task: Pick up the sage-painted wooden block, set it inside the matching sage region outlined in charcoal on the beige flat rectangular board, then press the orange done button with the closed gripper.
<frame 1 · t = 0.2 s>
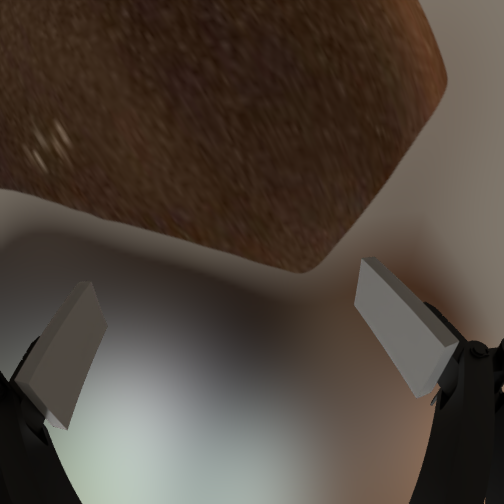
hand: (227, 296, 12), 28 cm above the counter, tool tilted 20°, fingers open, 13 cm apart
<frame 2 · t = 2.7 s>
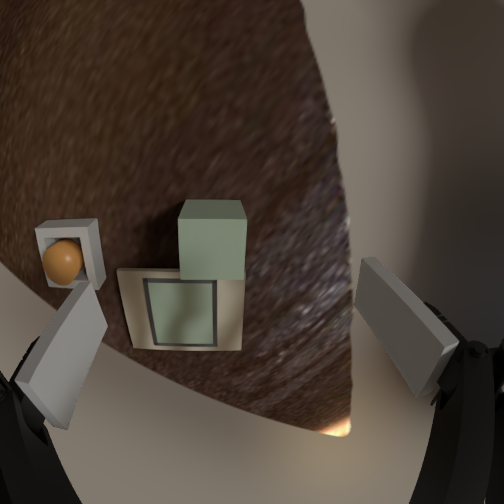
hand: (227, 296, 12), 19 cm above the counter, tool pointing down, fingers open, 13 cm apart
beige flat rectangular board: (182, 311, 35), on the counter
button housing: (75, 249, 30), on the counter
sage block: (212, 225, 31), on the counter
done button: (63, 261, 26), point 3 cm above the counter, slide at 0.0 cm
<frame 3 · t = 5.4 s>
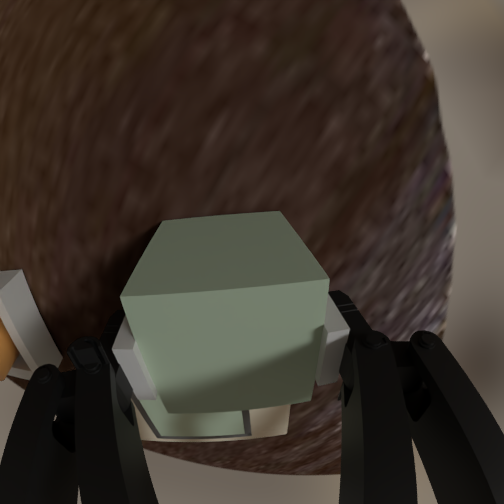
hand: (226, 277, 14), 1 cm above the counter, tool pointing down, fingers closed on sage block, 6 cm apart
beige flat rectangular board: (191, 401, 20), on the counter
button housing: (10, 316, 15), on the counter
sage block: (225, 268, 15), on the counter, touching gripper
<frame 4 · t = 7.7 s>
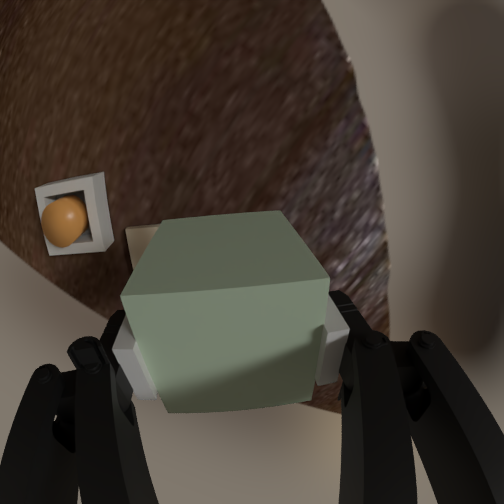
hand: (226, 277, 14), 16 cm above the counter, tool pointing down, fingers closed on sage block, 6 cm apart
beige flat rectangular board: (202, 275, 32), on the counter
button housing: (79, 211, 27), on the counter
sage block: (225, 268, 15), point 15 cm above the counter, touching gripper
done button: (65, 220, 23), point 3 cm above the counter, slide at 0.0 cm
when the fingers open (3 cm above the counter, at t = 10.4 s): sage block drops 1 cm, resting on beige flat rectangular board.
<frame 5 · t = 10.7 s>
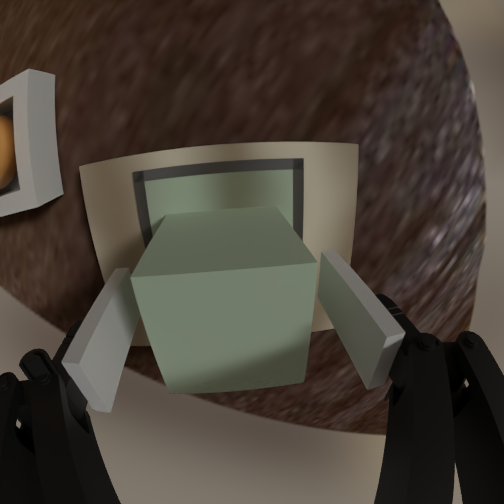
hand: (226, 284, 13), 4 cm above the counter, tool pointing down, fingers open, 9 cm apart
beige flat rectangular board: (224, 253, 17), on the counter
button housing: (14, 148, 12), on the counter
sage block: (224, 259, 16), point 1 cm above the counter, touching beige flat rectangular board
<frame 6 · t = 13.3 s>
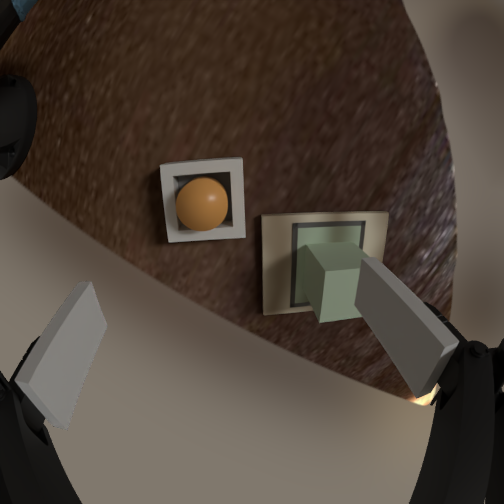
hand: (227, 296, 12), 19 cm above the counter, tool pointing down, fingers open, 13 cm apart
beige flat rectangular board: (325, 262, 34), on the counter
button housing: (205, 195, 29), on the counter
sage block: (327, 265, 33), point 1 cm above the counter, touching beige flat rectangular board
done button: (202, 202, 26), point 3 cm above the counter, slide at 0.0 cm
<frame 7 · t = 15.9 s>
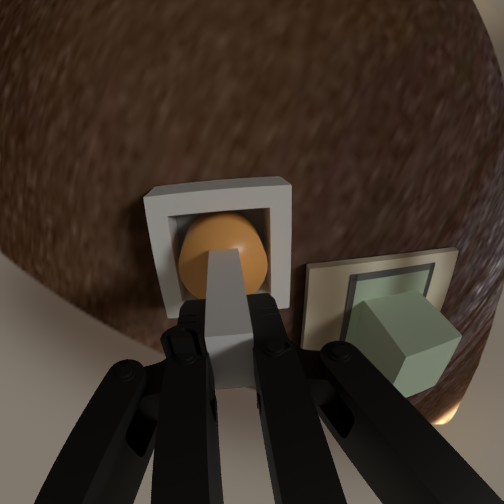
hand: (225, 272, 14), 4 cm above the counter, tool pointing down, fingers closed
beige flat rectangular board: (380, 316, 23), on the counter
button housing: (221, 239, 18), on the counter
sage block: (385, 321, 23), point 1 cm above the counter, touching beige flat rectangular board
done button: (222, 256, 16), point 3 cm above the counter, slide at 0.8 cm, touching gripper
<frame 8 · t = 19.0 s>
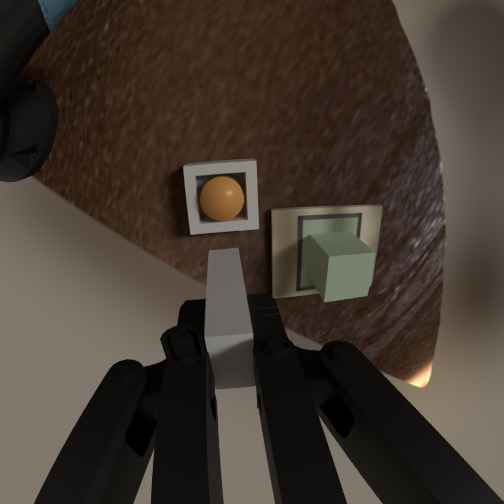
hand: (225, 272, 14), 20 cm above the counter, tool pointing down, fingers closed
beige flat rectangular board: (327, 250, 38), on the counter
button housing: (221, 192, 33), on the counter
sage block: (329, 253, 37), point 1 cm above the counter, touching beige flat rectangular board
done button: (221, 196, 31), point 2 cm above the counter, slide at 1.2 cm
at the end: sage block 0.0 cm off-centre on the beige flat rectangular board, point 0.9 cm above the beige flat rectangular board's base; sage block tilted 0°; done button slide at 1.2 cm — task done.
